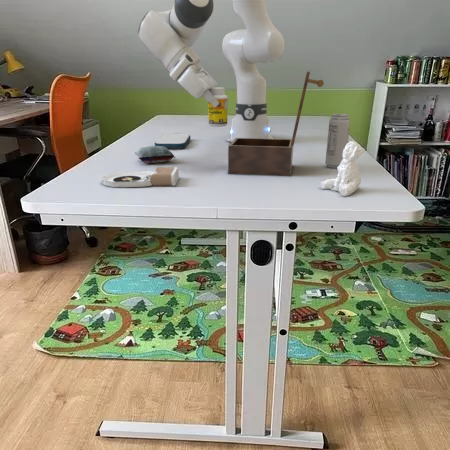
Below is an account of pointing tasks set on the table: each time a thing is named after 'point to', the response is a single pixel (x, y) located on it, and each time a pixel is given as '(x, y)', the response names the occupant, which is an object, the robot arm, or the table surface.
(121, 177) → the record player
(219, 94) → the supplement bottle
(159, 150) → the packaged food
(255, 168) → the chest
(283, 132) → the table surface
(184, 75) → the robot arm
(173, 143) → the external hard drive
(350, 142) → the white creature statuette
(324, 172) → the table surface
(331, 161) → the energy drink can
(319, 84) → the chest lid
